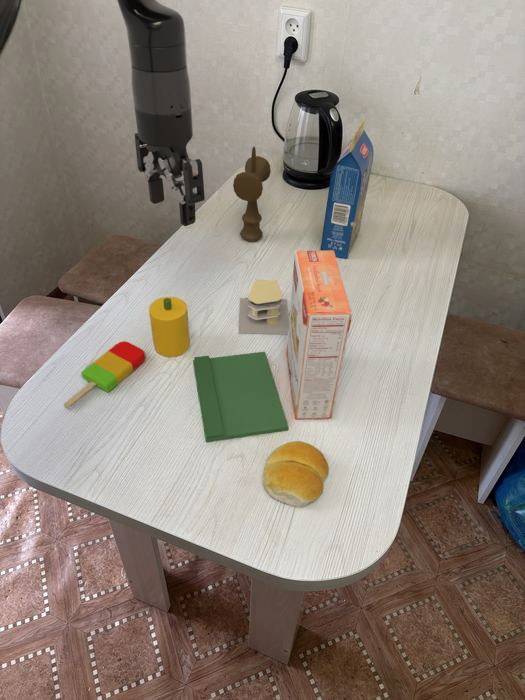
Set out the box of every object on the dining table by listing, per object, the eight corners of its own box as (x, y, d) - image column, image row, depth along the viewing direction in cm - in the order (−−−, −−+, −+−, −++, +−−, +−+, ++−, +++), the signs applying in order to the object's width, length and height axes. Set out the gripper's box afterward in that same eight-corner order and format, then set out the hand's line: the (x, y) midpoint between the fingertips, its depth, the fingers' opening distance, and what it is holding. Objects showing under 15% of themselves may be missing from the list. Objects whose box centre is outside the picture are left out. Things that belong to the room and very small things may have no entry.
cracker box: (283, 355, 85) (293, 248, 70) (318, 354, 85) (336, 248, 71) (291, 421, 75) (305, 312, 60) (331, 420, 75) (355, 311, 61)
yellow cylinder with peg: (155, 359, 83) (148, 314, 76) (153, 335, 87) (146, 290, 80) (191, 354, 84) (188, 310, 77) (188, 331, 88) (184, 286, 82)
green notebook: (206, 442, 71) (205, 436, 70) (193, 363, 83) (192, 357, 82) (288, 430, 73) (288, 424, 73) (264, 354, 85) (265, 348, 84)
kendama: (232, 246, 108) (232, 154, 95) (243, 224, 115) (245, 135, 101) (259, 250, 108) (263, 158, 94) (269, 228, 115) (274, 139, 101)
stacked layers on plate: (239, 298, 95) (240, 274, 92) (287, 299, 96) (289, 275, 92) (238, 333, 88) (238, 308, 84) (289, 334, 89) (292, 310, 85)
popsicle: (149, 359, 83) (147, 350, 81) (79, 419, 73) (76, 410, 72) (124, 346, 85) (122, 337, 84) (53, 402, 75) (50, 394, 74)
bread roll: (332, 459, 70) (336, 442, 67) (315, 515, 64) (319, 499, 61) (275, 442, 72) (277, 424, 69) (254, 494, 66) (255, 478, 63)
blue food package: (359, 232, 115) (382, 118, 98) (347, 259, 107) (370, 140, 89) (332, 226, 116) (350, 113, 99) (319, 252, 108) (335, 134, 91)
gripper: (110, 92, 69) (127, 201, 80) (168, 124, 62) (178, 240, 73) (157, 83, 73) (167, 189, 84) (217, 112, 65) (219, 224, 77)
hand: (172, 212), depth 78 cm, fingers open, 8 cm apart
